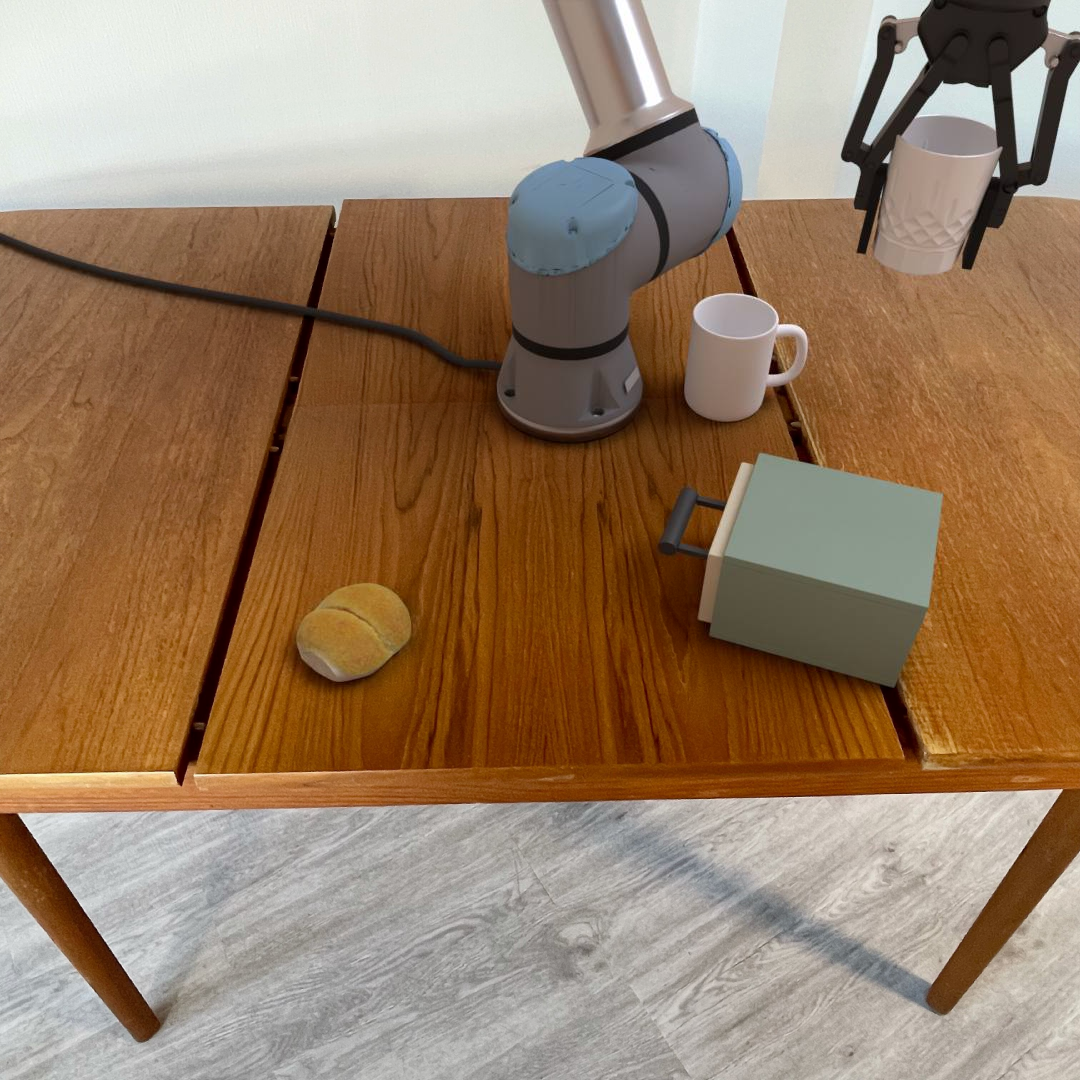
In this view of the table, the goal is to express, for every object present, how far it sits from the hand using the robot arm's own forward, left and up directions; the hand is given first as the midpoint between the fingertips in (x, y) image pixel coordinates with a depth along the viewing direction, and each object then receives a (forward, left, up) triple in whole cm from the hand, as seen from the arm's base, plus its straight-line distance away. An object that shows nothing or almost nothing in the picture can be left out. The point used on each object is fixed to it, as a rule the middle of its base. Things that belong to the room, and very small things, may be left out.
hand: (914, 253), depth 76 cm
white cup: (0, 0, 0) cm, 0 cm away
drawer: (-5, -22, -20) cm, 30 cm away
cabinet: (-1, -22, -21) cm, 30 cm away
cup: (-13, +4, -21) cm, 25 cm away
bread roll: (-35, -39, -21) cm, 56 cm away
